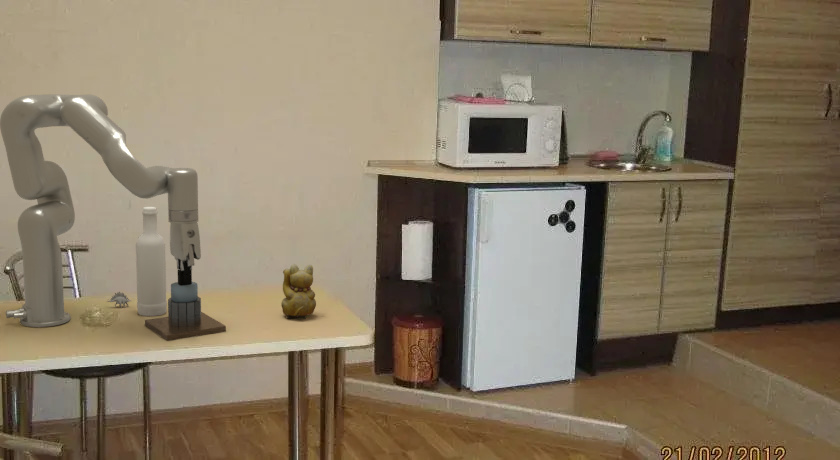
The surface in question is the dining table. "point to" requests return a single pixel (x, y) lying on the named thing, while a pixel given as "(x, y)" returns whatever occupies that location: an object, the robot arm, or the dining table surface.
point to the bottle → (151, 267)
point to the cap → (184, 292)
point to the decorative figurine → (298, 292)
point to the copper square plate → (184, 321)
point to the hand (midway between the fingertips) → (184, 284)
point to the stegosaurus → (119, 299)
